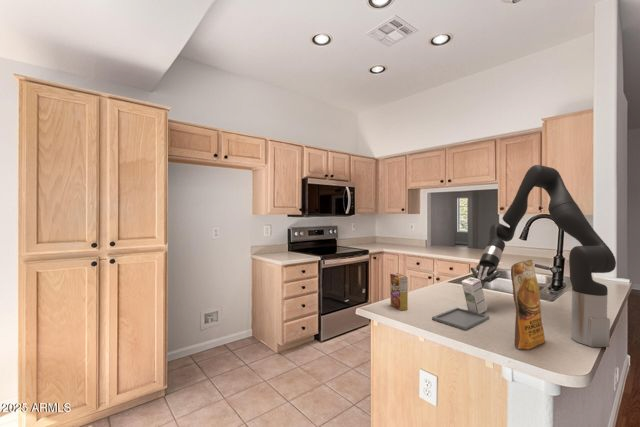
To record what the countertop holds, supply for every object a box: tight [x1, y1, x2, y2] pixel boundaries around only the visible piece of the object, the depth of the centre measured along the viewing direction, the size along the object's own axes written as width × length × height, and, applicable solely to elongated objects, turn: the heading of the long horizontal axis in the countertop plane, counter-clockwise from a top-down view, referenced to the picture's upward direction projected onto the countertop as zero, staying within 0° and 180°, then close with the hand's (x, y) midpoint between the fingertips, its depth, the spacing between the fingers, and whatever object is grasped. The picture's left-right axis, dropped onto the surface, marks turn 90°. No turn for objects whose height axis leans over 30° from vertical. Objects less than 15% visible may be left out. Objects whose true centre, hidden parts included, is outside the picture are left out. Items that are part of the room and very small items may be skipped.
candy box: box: [389, 272, 409, 311], centre depth 141 cm, size 9×4×15 cm, turn 17°
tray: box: [431, 307, 490, 331], centre depth 126 cm, size 20×14×1 cm
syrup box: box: [461, 276, 488, 314], centre depth 134 cm, size 6×6×14 cm
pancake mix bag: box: [510, 259, 546, 351], centre depth 103 cm, size 7×19×28 cm, turn 121°
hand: (478, 287), depth 135 cm, fingers closed
